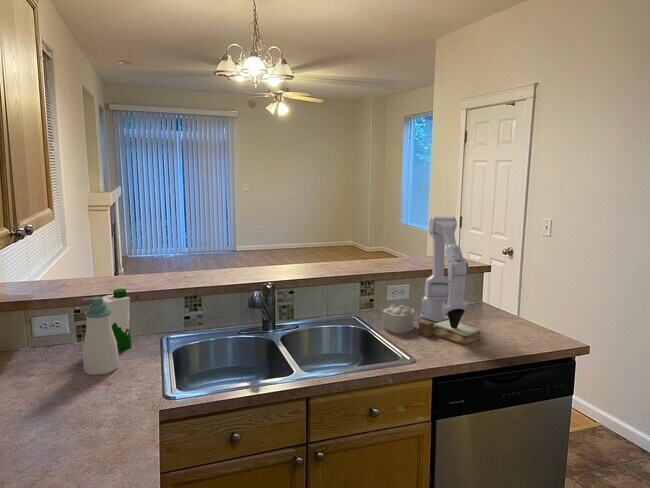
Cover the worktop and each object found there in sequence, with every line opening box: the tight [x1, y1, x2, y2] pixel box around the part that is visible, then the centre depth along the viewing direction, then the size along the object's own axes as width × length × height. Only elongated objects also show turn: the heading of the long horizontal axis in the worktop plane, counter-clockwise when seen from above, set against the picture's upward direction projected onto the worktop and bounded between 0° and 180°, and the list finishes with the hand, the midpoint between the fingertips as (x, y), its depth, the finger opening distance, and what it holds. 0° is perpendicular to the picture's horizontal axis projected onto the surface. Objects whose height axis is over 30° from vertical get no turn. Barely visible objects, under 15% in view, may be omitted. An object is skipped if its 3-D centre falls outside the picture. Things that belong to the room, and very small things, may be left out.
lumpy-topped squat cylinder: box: [381, 304, 415, 334], centre depth 184 cm, size 10×13×9 cm
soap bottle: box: [81, 296, 120, 376], centre depth 140 cm, size 10×10×23 cm
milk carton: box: [102, 288, 132, 352], centre depth 157 cm, size 9×9×20 cm
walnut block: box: [417, 319, 435, 338], centre depth 177 cm, size 4×4×5 cm
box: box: [432, 326, 481, 346], centre depth 175 cm, size 14×10×3 cm
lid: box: [434, 319, 481, 336], centre depth 175 cm, size 14×10×1 cm
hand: (453, 327), depth 173 cm, fingers closed, pressing on lid
